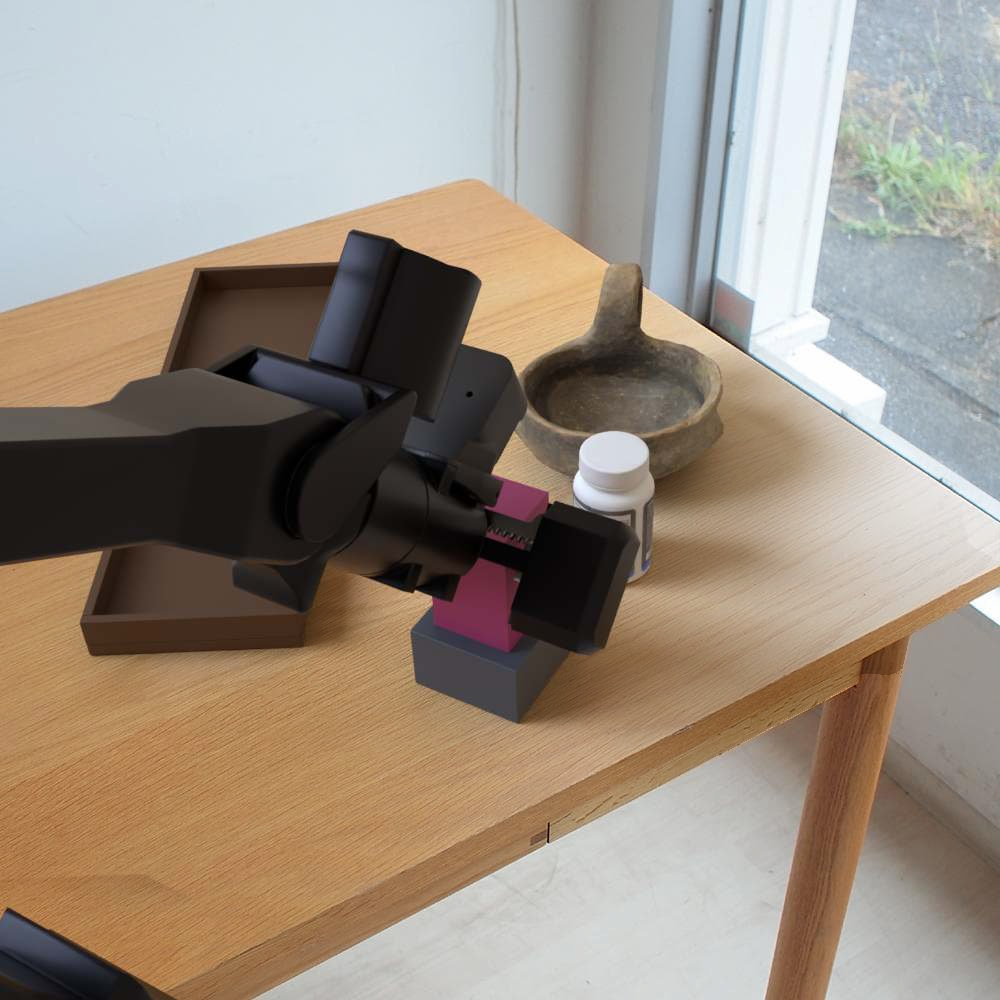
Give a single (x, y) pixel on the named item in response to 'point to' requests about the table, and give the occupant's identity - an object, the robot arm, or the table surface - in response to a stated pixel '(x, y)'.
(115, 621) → the tray
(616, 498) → the pill bottle
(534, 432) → the bowl
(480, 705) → the slate block
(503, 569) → the mulberry block
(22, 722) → the table surface
